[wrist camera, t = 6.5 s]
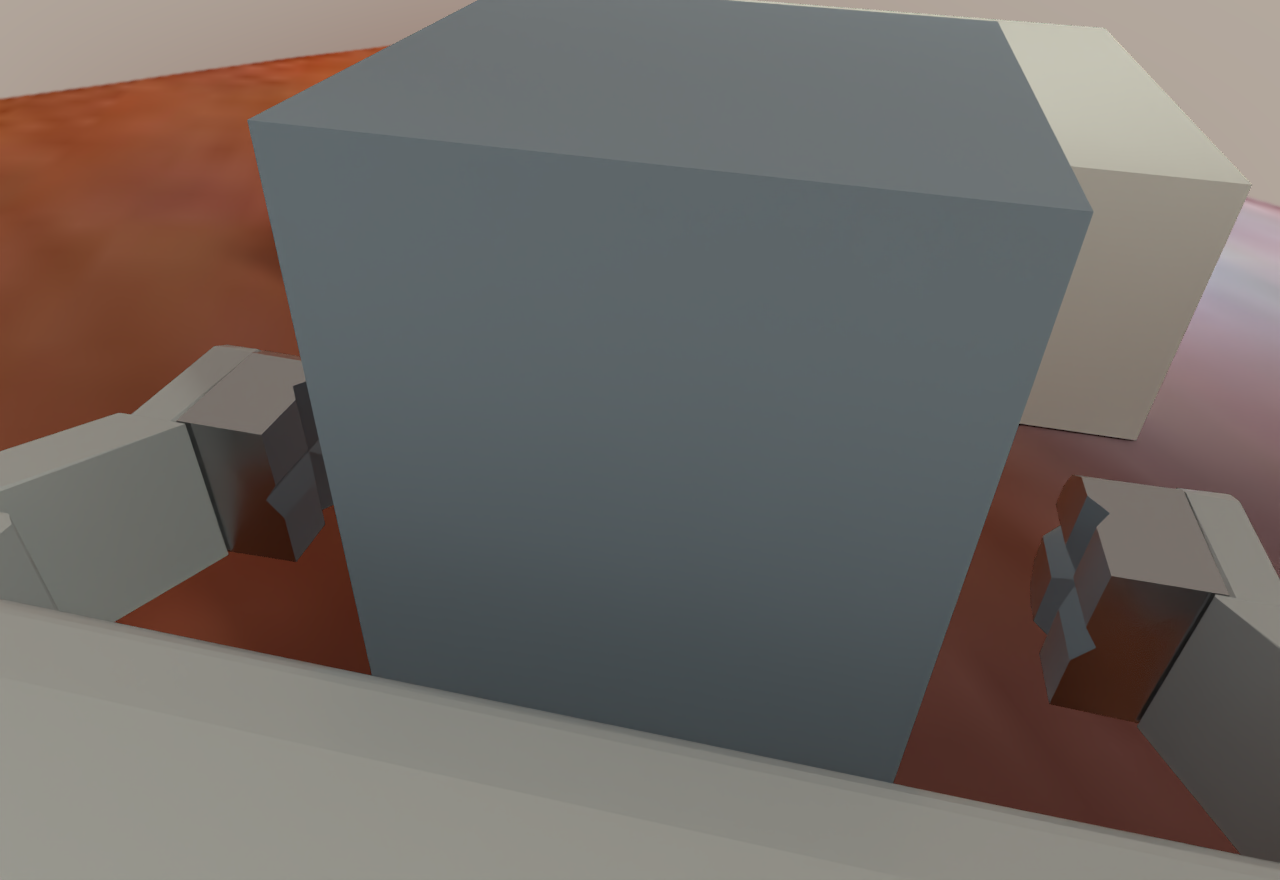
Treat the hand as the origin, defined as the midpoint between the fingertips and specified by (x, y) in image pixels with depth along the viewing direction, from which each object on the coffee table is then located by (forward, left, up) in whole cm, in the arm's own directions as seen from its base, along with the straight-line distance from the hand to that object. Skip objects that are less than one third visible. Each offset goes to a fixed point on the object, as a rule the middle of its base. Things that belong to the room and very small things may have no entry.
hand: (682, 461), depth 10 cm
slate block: (0, 0, -6) cm, 6 cm away
